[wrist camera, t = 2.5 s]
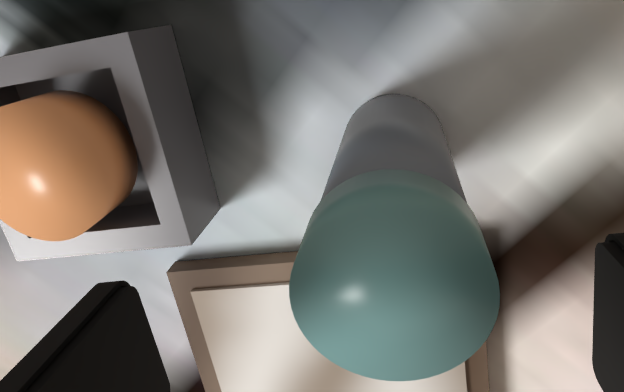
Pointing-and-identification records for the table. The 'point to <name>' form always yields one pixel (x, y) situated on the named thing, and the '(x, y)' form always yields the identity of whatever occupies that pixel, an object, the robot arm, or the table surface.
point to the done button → (62, 164)
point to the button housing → (143, 130)
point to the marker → (394, 252)
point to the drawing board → (275, 334)
